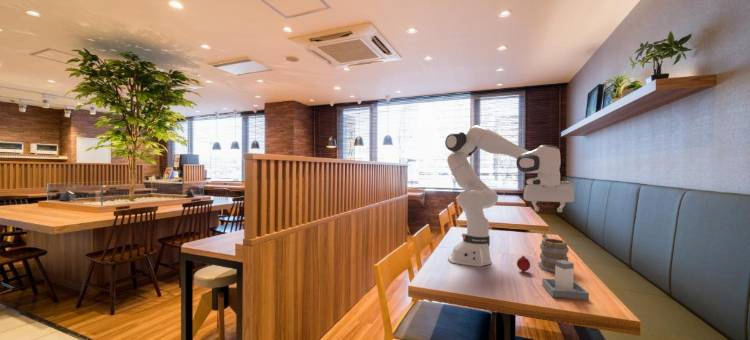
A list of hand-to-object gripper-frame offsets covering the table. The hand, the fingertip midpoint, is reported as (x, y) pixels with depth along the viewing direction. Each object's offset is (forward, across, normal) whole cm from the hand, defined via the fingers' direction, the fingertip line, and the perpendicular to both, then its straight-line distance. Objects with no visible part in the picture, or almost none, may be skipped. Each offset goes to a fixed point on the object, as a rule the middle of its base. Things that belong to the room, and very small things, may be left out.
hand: (548, 211), depth 137 cm
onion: (+31, +8, -8) cm, 33 cm away
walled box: (+31, -2, +14) cm, 34 cm away
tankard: (+31, -8, -20) cm, 38 cm away
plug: (+30, -2, +14) cm, 34 cm away
